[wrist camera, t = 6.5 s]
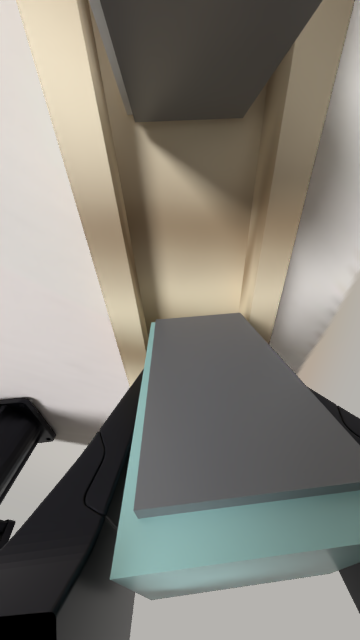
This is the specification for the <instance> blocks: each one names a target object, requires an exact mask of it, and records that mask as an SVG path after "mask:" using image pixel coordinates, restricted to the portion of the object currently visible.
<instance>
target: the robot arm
mask: <svg viewBox="0 0 360 640" xmlns="http://www.w3.org/2000/svg"><path fill="white" fill-rule="evenodd" d="M143 371H144V369H143V370H142V371H141V373H140V374H139V376H138V377H137V378H136V380H135V381H134V383H133V384H132V385H131V387H130V388H129V390H128V391H127V392H126V394H125V395H124V396H123V398H122V399H121V401H120V402H119V403H118V405H117V406H116V408H115V409H114V410H113V412H112V413H111V415H110V416H109V417H108V419H107V420H106V422H105V423H104V424H103V426H102V427H101V428H100V432H97V434H96V435H95V437H94V438H93V439H92V441H91V442H90V444H89V445H88V446H87V448H86V449H85V450H84V452H83V453H82V454H81V456H80V457H79V458H78V459H77V461H76V462H75V463H74V464H73V466H72V467H71V468H70V469H69V471H68V472H67V473H66V474H65V476H64V477H63V478H62V479H61V480H60V481H59V483H58V484H57V485H56V486H55V488H54V489H53V490H52V491H51V492H50V493H49V495H48V496H47V497H46V498H45V499H44V501H43V502H42V503H41V504H40V505H39V506H38V508H37V509H36V510H35V511H34V513H33V514H32V515H31V516H30V517H29V518H28V520H27V521H26V522H25V523H24V524H23V525H22V527H21V528H20V529H19V530H18V531H17V532H16V534H15V535H14V536H13V537H12V538H11V539H10V540H9V538H10V535H11V533H12V530H13V527H14V525H15V521H13V520H5V521H3V520H0V640H129V638H130V629H131V622H132V621H131V620H132V614H133V605H134V597H135V592H134V591H132V590H130V589H128V588H126V587H124V586H122V585H120V584H118V583H116V582H114V581H112V580H110V575H111V568H112V562H113V556H114V550H115V544H116V538H117V531H118V525H119V519H120V513H121V507H122V501H123V494H124V488H125V482H126V476H127V470H128V464H129V457H130V451H131V445H132V439H133V433H134V426H135V420H136V414H137V408H138V402H139V396H140V389H141V383H142V377H143ZM308 389H309V390H310V391H311V392H312V393H313V394H314V395H315V396H316V397H317V399H318V400H319V401H320V402H321V403H322V404H323V405H324V406H325V407H326V409H327V410H328V411H329V412H330V413H331V414H332V415H333V416H334V417H335V419H336V420H337V421H338V422H339V423H340V424H341V425H342V426H343V427H344V429H345V430H346V431H347V432H348V433H349V434H350V435H351V436H352V437H353V438H354V440H355V441H356V442H357V443H358V444H359V445H360V419H359V418H358V417H356V416H354V415H352V414H351V413H349V412H348V411H346V410H344V409H343V408H341V407H339V406H336V404H334V403H333V402H331V401H329V400H328V399H326V398H325V397H323V396H321V395H320V394H318V393H316V392H315V391H313V390H312V389H310V388H308ZM55 436H56V434H55V433H54V432H53V430H52V429H51V428H50V426H49V425H48V424H47V423H46V421H45V420H44V419H43V417H42V416H41V415H40V413H39V412H38V411H37V409H36V408H35V407H34V405H33V404H32V403H31V402H30V401H29V400H28V399H25V398H19V399H9V400H0V504H1V502H2V501H3V499H4V498H5V496H6V494H7V493H8V491H9V489H10V488H11V486H12V484H13V483H14V481H15V479H16V478H17V476H18V475H19V473H20V471H21V470H22V468H23V466H24V465H25V463H26V461H27V460H28V458H29V456H30V455H31V453H32V451H33V450H34V448H35V447H36V445H37V443H42V442H51V441H53V440H54V438H55ZM339 572H340V574H341V576H342V578H343V581H344V583H345V585H346V586H347V589H348V591H349V593H350V595H351V597H352V599H353V601H354V603H355V605H356V607H357V609H358V611H359V613H360V562H359V563H356V564H354V565H351V566H349V567H346V568H343V569H341V570H339Z"/></svg>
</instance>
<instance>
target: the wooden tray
mask: <svg viewBox="0 0 360 640" xmlns="http://www.w3.org/2000/svg"><path fill="white" fill-rule="evenodd" d="M354 1H355V0H323V1H322V2H321V4H320V5H319V7H318V8H317V10H316V11H315V12H314V14H313V15H312V17H311V18H310V20H309V21H308V23H307V24H306V26H305V27H304V29H303V30H302V32H301V33H300V35H299V36H298V38H297V39H296V40H295V42H294V43H293V45H292V46H291V48H290V49H289V51H288V52H287V54H286V55H285V57H284V58H283V60H282V61H281V63H280V64H279V66H278V67H277V68H276V70H275V71H274V73H273V74H272V76H271V77H270V79H269V80H268V82H267V83H266V85H265V86H264V88H263V89H262V91H261V92H260V94H259V95H258V97H257V98H256V99H255V101H254V102H253V104H252V105H251V107H250V108H249V110H248V111H247V113H246V114H245V116H244V117H243V118H231V119H207V120H182V121H157V122H135V120H134V117H133V115H127V113H126V110H125V107H124V104H123V101H122V98H121V95H120V92H119V89H118V86H117V83H116V80H115V77H114V74H113V71H112V68H111V65H110V62H109V59H108V56H107V53H106V50H105V47H104V44H103V42H102V39H101V36H100V33H99V30H98V27H97V24H96V21H95V18H94V15H93V12H92V9H91V6H90V3H89V0H16V2H17V5H18V9H19V12H20V16H21V19H22V22H23V26H24V29H25V32H26V36H27V39H28V43H29V46H30V49H31V53H32V56H33V60H34V63H35V66H36V70H37V73H38V77H39V80H40V83H41V87H42V90H43V94H44V97H45V100H46V104H47V107H48V111H49V114H50V117H51V121H52V124H53V128H54V131H55V134H56V138H57V141H58V145H59V148H60V151H61V155H62V158H63V162H64V165H65V168H66V172H67V175H68V179H69V182H70V185H71V189H72V192H73V196H74V199H75V202H76V206H77V209H78V212H79V216H80V219H81V223H82V226H83V229H84V233H85V236H86V240H87V243H88V246H89V250H90V253H91V257H92V260H93V263H94V267H95V270H96V274H97V277H98V280H99V284H100V287H101V291H102V294H103V297H104V301H105V304H106V308H107V311H108V314H109V318H110V321H111V325H112V328H113V331H114V335H115V338H116V342H117V345H118V348H119V352H120V355H121V359H122V362H123V365H124V369H125V372H126V375H127V379H128V382H129V386H130V387H131V385H132V384H133V383H134V381H135V380H136V378H137V377H138V376H139V374H140V373H141V371H142V370H143V369H144V365H145V359H146V352H147V346H148V340H149V334H150V328H151V322H156V320H157V319H169V318H181V317H193V316H205V315H217V314H229V313H241V314H242V315H243V317H244V318H245V319H246V320H247V321H248V322H249V323H250V324H251V325H252V327H253V328H254V329H255V330H256V331H257V332H258V333H259V334H260V335H261V337H262V338H263V339H264V340H265V341H266V342H267V343H268V344H269V343H270V338H271V334H272V330H273V326H274V322H275V318H276V314H277V310H278V306H279V302H280V298H281V294H282V290H283V286H284V282H285V278H286V274H287V270H288V266H289V262H290V258H291V254H292V250H293V246H294V242H295V238H296V234H297V230H298V226H299V222H300V218H301V214H302V210H303V206H304V202H305V198H306V194H307V190H308V186H309V182H310V178H311V174H312V170H313V166H314V162H315V158H316V154H317V150H318V146H319V142H320V138H321V134H322V130H323V126H324V122H325V118H326V114H327V110H328V106H329V102H330V98H331V94H332V90H333V86H334V82H335V78H336V74H337V70H338V66H339V62H340V58H341V54H342V50H343V46H344V42H345V38H346V34H347V30H348V26H349V22H350V18H351V14H352V10H353V6H354Z"/></svg>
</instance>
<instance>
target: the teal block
mask: <svg viewBox="0 0 360 640" xmlns="http://www.w3.org/2000/svg"><path fill="white" fill-rule="evenodd" d="M359 562H360V445H359V444H358V443H357V442H356V441H355V440H354V438H353V437H352V436H351V435H350V434H349V433H348V432H347V431H346V430H345V429H344V427H343V426H342V425H341V424H340V423H339V422H338V421H337V420H336V419H335V417H334V416H333V415H332V414H331V413H330V412H329V411H328V410H327V409H326V407H325V406H324V405H323V404H322V403H321V402H320V401H319V400H318V399H317V397H316V396H315V395H314V394H313V393H312V392H311V391H310V390H309V389H308V387H307V386H306V385H305V384H304V383H303V382H302V381H301V380H300V379H299V378H298V376H297V375H296V374H295V373H294V372H293V371H292V370H291V369H290V368H289V366H288V365H287V364H286V363H285V362H284V361H283V360H282V359H281V358H280V356H279V355H278V354H277V353H276V352H275V351H274V350H273V349H272V348H271V346H270V345H269V344H268V343H267V342H266V341H265V340H264V339H263V338H262V337H261V335H260V334H259V333H258V332H257V331H256V330H255V329H254V328H253V327H252V325H251V324H250V323H249V322H248V321H247V320H246V319H245V318H244V317H243V315H242V314H241V313H229V314H217V315H205V316H193V317H181V318H169V319H157V320H156V322H151V328H150V334H149V340H148V346H147V352H146V359H145V365H144V371H143V377H142V383H141V389H140V396H139V402H138V408H137V414H136V420H135V426H134V433H133V439H132V445H131V451H130V457H129V464H128V470H127V476H126V482H125V488H124V494H123V501H122V507H121V513H120V519H119V525H118V531H117V538H116V544H115V550H114V556H113V562H112V568H111V575H110V580H112V581H114V582H116V583H118V584H120V585H122V586H124V587H126V588H128V589H130V590H132V591H134V592H136V593H138V594H140V595H142V596H144V597H146V598H148V599H150V600H155V599H162V598H169V597H175V596H182V595H189V594H196V593H203V592H209V591H216V590H223V589H230V588H237V587H243V586H250V585H257V584H263V583H270V582H277V581H284V580H291V579H297V578H304V577H311V576H318V575H325V574H330V573H333V572H335V571H338V570H341V569H343V568H346V567H349V566H351V565H354V564H356V563H359Z"/></svg>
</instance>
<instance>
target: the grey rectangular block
mask: <svg viewBox="0 0 360 640" xmlns="http://www.w3.org/2000/svg"><path fill="white" fill-rule="evenodd" d="M322 1H323V0H89V3H90V6H91V9H92V12H93V15H94V18H95V21H96V24H97V27H98V30H99V33H100V36H101V39H102V42H103V44H104V47H105V50H106V53H107V56H108V59H109V62H110V65H111V68H112V71H113V74H114V77H115V80H116V83H117V86H118V89H119V92H120V95H121V98H122V101H123V104H124V107H125V110H126V113H127V115H133V117H134V120H135V122H157V121H182V120H207V119H231V118H243V117H244V116H245V114H246V113H247V111H248V110H249V108H250V107H251V105H252V104H253V102H254V101H255V99H256V98H257V97H258V95H259V94H260V92H261V91H262V89H263V88H264V86H265V85H266V83H267V82H268V80H269V79H270V77H271V76H272V74H273V73H274V71H275V70H276V68H277V67H278V66H279V64H280V63H281V61H282V60H283V58H284V57H285V55H286V54H287V52H288V51H289V49H290V48H291V46H292V45H293V43H294V42H295V40H296V39H297V38H298V36H299V35H300V33H301V32H302V30H303V29H304V27H305V26H306V24H307V23H308V21H309V20H310V18H311V17H312V15H313V14H314V12H315V11H316V10H317V8H318V7H319V5H320V4H321V2H322Z"/></svg>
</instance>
